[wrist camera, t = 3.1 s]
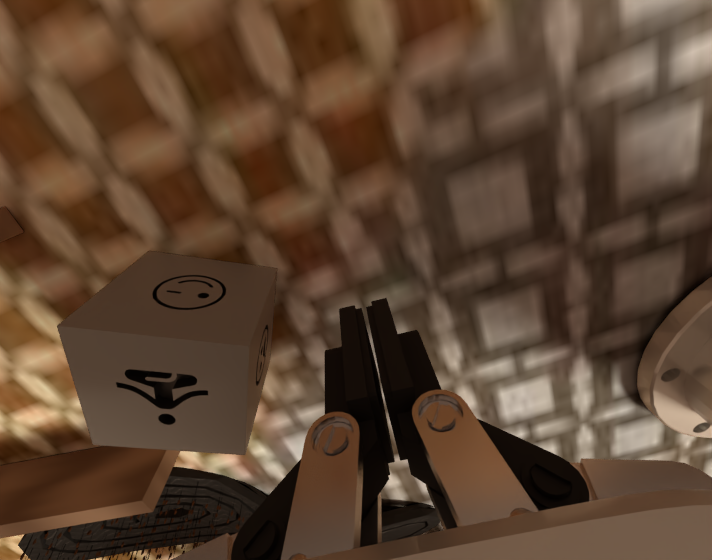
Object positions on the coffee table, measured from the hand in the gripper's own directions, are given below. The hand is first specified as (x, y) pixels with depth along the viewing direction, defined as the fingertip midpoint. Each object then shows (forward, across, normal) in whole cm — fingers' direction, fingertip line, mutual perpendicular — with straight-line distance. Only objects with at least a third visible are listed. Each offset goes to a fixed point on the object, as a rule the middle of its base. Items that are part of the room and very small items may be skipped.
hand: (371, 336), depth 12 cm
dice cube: (+4, +6, 0) cm, 7 cm away
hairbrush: (+4, +10, +15) cm, 18 cm away
